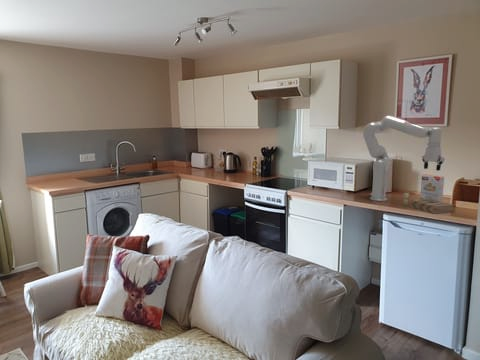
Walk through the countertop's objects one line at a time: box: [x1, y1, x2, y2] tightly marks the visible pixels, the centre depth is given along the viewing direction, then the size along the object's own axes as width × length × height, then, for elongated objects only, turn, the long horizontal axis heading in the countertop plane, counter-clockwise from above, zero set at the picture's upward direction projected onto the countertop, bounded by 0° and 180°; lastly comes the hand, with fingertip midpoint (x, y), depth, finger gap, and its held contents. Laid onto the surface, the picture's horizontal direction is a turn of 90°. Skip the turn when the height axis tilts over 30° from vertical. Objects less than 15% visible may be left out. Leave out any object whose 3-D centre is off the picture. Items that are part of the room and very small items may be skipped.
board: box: [410, 198, 454, 215], centre depth 250 cm, size 20×16×5 cm
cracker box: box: [419, 173, 445, 202], centre depth 268 cm, size 14×6×21 cm, turn 31°
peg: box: [403, 192, 410, 207], centre depth 263 cm, size 3×3×9 cm
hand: (431, 169), depth 258 cm, fingers open, 9 cm apart
